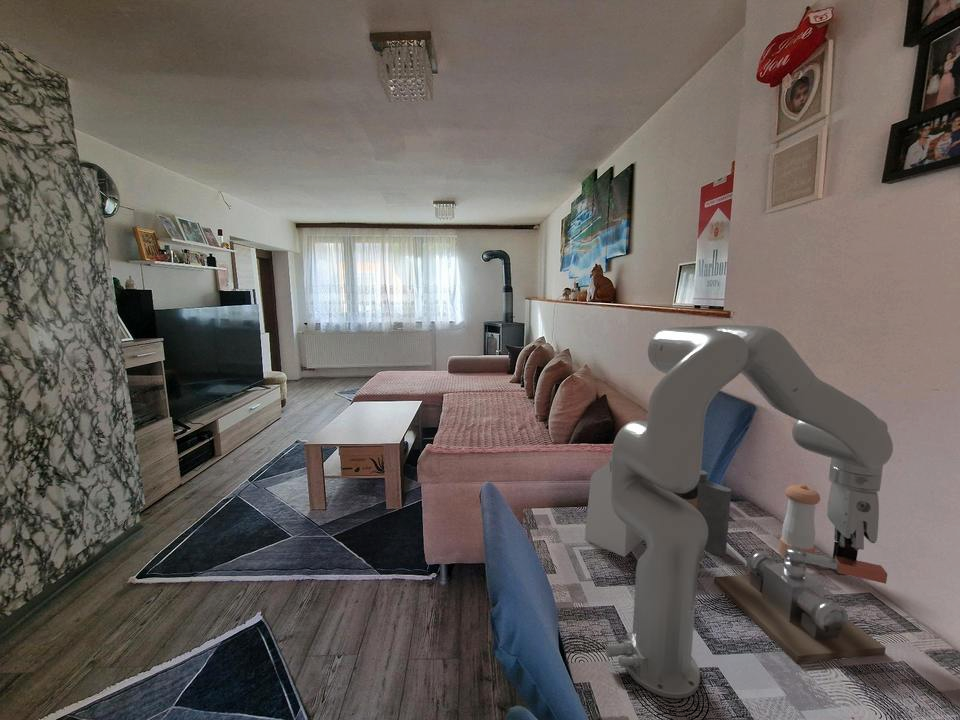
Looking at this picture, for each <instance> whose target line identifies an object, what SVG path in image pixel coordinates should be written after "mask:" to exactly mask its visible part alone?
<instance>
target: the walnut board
mask: <svg viewBox="0 0 960 720" xmlns="http://www.w3.org/2000/svg"><path fill="white" fill-rule="evenodd" d="M750 574H751V573H750ZM750 574H736V575H735V574H733V575H722V576H714V577H713V584H714V585H715V586H716V587H717V588H718V589H719V590H721V592H722V593H723V594H724V595H725V596H726V597H728V599H730V600H731V602H733V604H735V605H736V606H737V607H738V609H740V610H741V611H742V612H743V613H744V614H745V615H746V616H747V617H748V618H749V619H750V620H751V621H752V622H753V623H754V624H755V625H756V626H757V627H758V628H759V629H761V631H763V632H764V634H766V636H767V637H769V638H770V640H772V641H773V642H774V643H775V644H776V645H777V646H778V647H779V648H780V649H781V650H782V651H783V652H784V653H785V654H786V655H787V656H788V657H789V658H790V659H791V660H792V661H793V662H794V663H795V664H805V663H816V662H825V660H827V661H834V660H833V659H837V660H843V659H842V658H847V659H854V658H853V657H857V658H866V657H873V656H875V657H876V656H885V654H886V646H885V645H884V644H882V643H881V642H879V641H878V640H877V639H875V638H874V637H872V635H870V634H868V632H866V631H864V630H863V629H862V628H861V627H859V626H858V625H856V624H855V623H854V622H853V621H851V620H850V619H848V621H847V624H846V626H845V627H844V629H843V630H842V631H840V632H839V636H838V637H837V638H826V639H816V640H815V639H813V638H812V637H811V636H810V635H809V634H808V633H806V632H805V631H804V630H803V629H802V628H801V621H795V622H789V621H788V620H786V619H785V618H784V617H783V616H782V615H781V614H780V613H778V612H777V611H776V610H775V609H774V608H773V607H772V606H770V605H769V604H768V603H767V602H766V601H765V600H764V599H762V598H761V596H762V592H759V591H758V590H757V589H755V588H754V587H753V586H752V585H751V584H750Z"/></svg>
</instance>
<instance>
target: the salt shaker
mask: <svg viewBox="0 0 960 720" xmlns="http://www.w3.org/2000/svg"><path fill="white" fill-rule="evenodd" d="M785 495H786V497H787V498H788V500H787V509H786V510H787V511H786V515H785V518H784V520H783V524H782V532H781V533H782V534H781V536H780V538H779V545H778V551H779V553H780V555H782V556H783V557H784V558H786V549H787V547H796V548H799V549H802V550H803V551H805V552H807V553H812V554H816V546H815V545H814V544H815V539H816V526H815V514H816V513H815V511H816V506H817V505H818V504H819V503H820V502H821V496H820V494H819V492H818V491H817V490H816V489H813V488H812V487H808V485H806V484H804V483H800V484H792V485H789V486H788V487H786V489H785ZM804 564H807V563H806V562H805V563H804Z"/></svg>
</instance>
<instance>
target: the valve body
mask: <svg viewBox="0 0 960 720" xmlns="http://www.w3.org/2000/svg"><path fill="white" fill-rule="evenodd" d="M746 568H747V569H748V570H749V571H750V584H751V585H752V586H753V587H754V588H755V589H757V590H758V591H759V592H762V596H761V598H762V599H764V600H765V601H766V602H767V603H768V604H769V605H770V606H772V607H773V608H774V609H775V610H776V611H777V612H778V613H780V614H781V615H782V616H783V617H784V618H785V619H786V620H788V621H789V622H795V621H801V628H802V629H803V630H804V631H805V632H806V633H808V634H809V635H810V636H811V637H812V638H813V639H815V640H816V639H826V638H837V637H838V636H839V632H840V631H842V630H843V629H844V627H845V626H846V624H847V621H848V620H849V615H848V613H847V612H848V611H846V609H844V608H843V607H842V606H840V605H839V604H838V603H837V602H835V601H834V600H832V599H829V598H825V597H824V595H825V588H826V585H825V583H823V582H822V581H820V580H819V579H817V578H816V577H815V576H814V575H812V574H810V573H809V572H808V571H806V570H807V565H806V563H804V564H800V565H797V564H794V563H792V562H790V560H788V559H787V558H786V557H784V559H783V563H777V561H776V559H775V557H774V556H771V555H770V554H769V553H767V551H765V550H761V549H758V550H755V551H753V552H751V553H750V554H749V556H747V559H746Z"/></svg>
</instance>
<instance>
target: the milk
mask: <svg viewBox="0 0 960 720" xmlns="http://www.w3.org/2000/svg"><path fill="white" fill-rule="evenodd" d="M610 451H611V452H610V457H609V461H608V462H607V463H605V464H603V465H602V466H601V467H599V468H598V469H596V470H595V471H594V472H593V473H592V475H591V476H590V481H589V493H588V501H587V502H588V504H587V512H586V521H585V522H586V523H585V531H584V532H585V533H584V540H585V541H587V542H589V543H591V544H594V545H596V546H597V547H601V548H603V549H606V550H608V551H610V552H612V553H614V554H617V555H618V556H619V555H620V557H623V558H625V557H626V556H627V555H629V553H631V552H632V551H633V550H634V549H635V548H636V547H637V546H638V545H639V544H640V543H641V542H643V541H644V540H643V539H642V538H641V537H640V536H639V535H638V534H637V533H636V532H635V531H633V530H632V529H631V528H630V527H628V526H627V525H626V524H625V523H624V522H623V521H621V520H620V519H619V518H618V516H617V515H616V514H615V512H614V510H613V507H612V502H611V469H612V450H610Z"/></svg>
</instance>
